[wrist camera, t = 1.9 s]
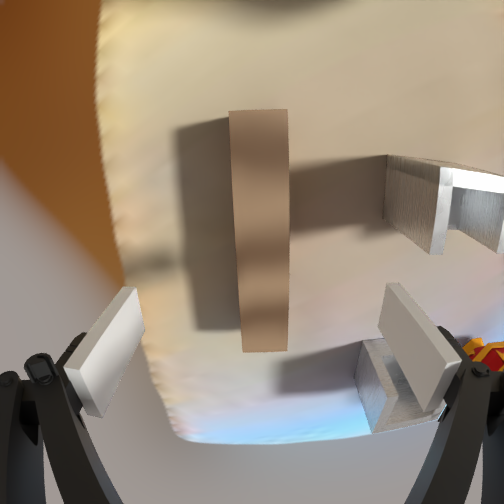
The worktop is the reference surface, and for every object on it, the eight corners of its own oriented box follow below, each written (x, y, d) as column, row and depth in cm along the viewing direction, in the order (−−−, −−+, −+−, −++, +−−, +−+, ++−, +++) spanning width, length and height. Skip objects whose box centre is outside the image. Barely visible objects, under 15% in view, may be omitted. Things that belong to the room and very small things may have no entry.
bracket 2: (362, 340, 32) (387, 397, 23) (424, 333, 31) (457, 382, 23) (353, 377, 34) (371, 433, 25) (411, 369, 34) (437, 418, 25)
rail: (233, 116, 24) (228, 111, 19) (281, 114, 24) (287, 109, 19) (244, 321, 31) (242, 352, 26) (283, 320, 31) (287, 351, 26)
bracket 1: (451, 221, 26) (505, 253, 18) (382, 218, 27) (429, 254, 18) (457, 163, 24) (517, 180, 16) (387, 154, 24) (440, 166, 16)
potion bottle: (428, 373, 34) (472, 455, 20) (474, 313, 31) (538, 387, 17) (465, 383, 36) (505, 450, 22) (505, 331, 32) (558, 393, 18)
